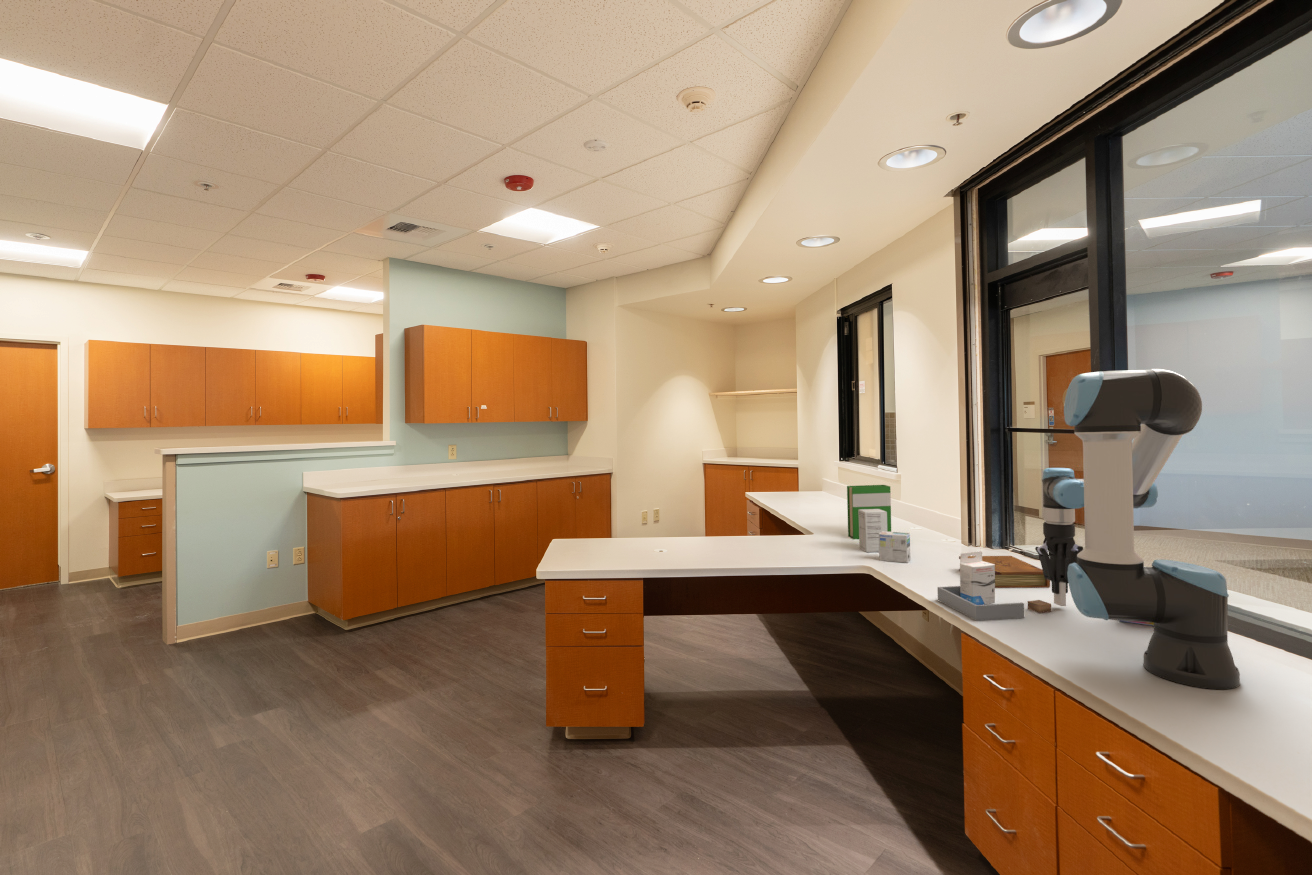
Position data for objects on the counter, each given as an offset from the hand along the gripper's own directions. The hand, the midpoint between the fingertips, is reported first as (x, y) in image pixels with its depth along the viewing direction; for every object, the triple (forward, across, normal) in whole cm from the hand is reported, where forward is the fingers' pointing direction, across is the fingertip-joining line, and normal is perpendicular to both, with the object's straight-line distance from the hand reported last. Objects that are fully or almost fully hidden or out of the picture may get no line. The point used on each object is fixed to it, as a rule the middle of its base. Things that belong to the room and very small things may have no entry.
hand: (1059, 604), depth 169 cm
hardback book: (+2, +7, -110) cm, 110 cm away
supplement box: (+2, +17, -84) cm, 85 cm away
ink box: (+1, +18, -9) cm, 21 cm away
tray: (+1, +21, -4) cm, 22 cm away
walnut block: (+2, +6, 0) cm, 7 cm away
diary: (+2, -5, -32) cm, 33 cm away
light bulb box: (+2, +17, -64) cm, 67 cm away
